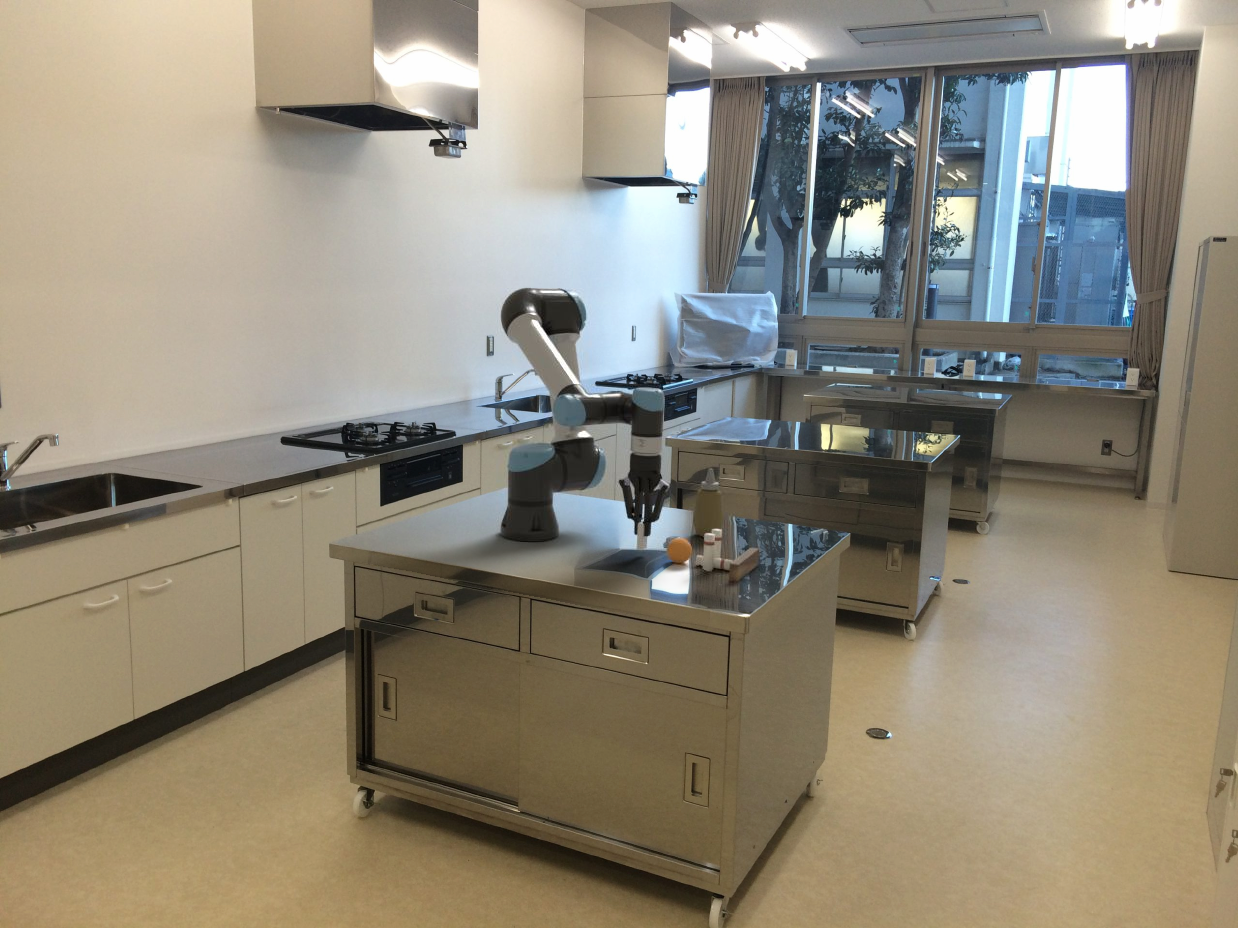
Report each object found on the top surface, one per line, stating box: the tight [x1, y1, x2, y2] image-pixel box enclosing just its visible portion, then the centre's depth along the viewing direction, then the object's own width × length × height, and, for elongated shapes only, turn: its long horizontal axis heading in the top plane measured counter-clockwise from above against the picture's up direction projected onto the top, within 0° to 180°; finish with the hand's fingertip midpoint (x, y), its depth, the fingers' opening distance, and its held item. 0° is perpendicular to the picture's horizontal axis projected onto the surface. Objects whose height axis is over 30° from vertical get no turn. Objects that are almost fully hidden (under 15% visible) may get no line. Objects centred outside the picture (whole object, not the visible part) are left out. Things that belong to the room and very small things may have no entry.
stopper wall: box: [728, 547, 760, 582], centre depth 227 cm, size 2×16×4 cm, turn 156°
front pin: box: [695, 554, 733, 571], centre depth 230 cm, size 2×2×8 cm
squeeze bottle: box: [692, 468, 724, 537], centre depth 259 cm, size 8×8×18 cm
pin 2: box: [712, 528, 723, 558], centre depth 232 cm, size 2×2×8 cm
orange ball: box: [666, 537, 693, 564], centre depth 233 cm, size 6×6×6 cm
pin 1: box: [702, 533, 715, 572], centre depth 228 cm, size 2×2×8 cm
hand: (641, 548), depth 238 cm, fingers closed
